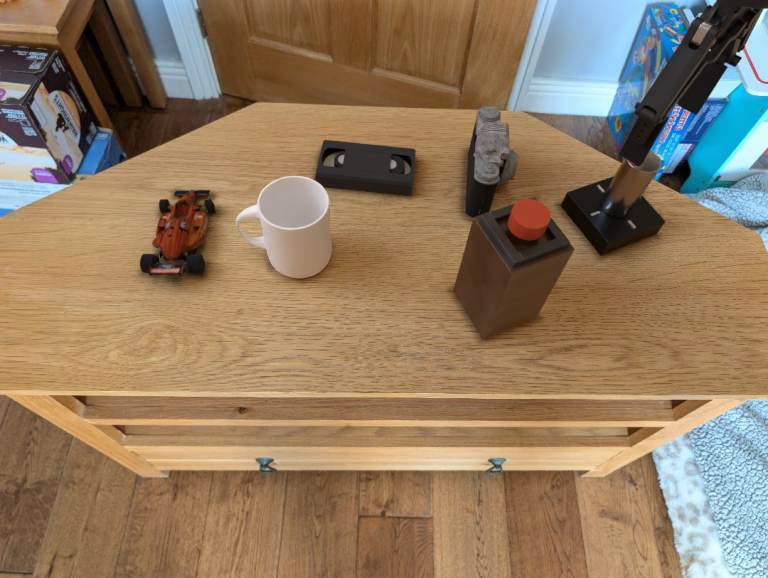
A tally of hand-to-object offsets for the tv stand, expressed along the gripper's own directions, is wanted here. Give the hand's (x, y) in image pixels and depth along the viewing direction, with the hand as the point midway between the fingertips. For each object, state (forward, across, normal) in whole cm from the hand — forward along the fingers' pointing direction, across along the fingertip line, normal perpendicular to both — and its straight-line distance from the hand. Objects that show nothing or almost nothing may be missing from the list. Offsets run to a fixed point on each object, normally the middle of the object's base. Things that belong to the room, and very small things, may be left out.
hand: (659, 133), depth 67 cm
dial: (+14, -1, 0) cm, 14 cm away
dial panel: (+17, -1, 0) cm, 17 cm away
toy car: (+17, +46, -38) cm, 63 cm away
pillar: (+17, +23, -2) cm, 29 cm away
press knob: (+1, +23, -2) cm, 23 cm away
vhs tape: (+17, +19, -31) cm, 40 cm away
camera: (+17, +7, -17) cm, 25 cm away
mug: (+17, +38, -27) cm, 49 cm away
